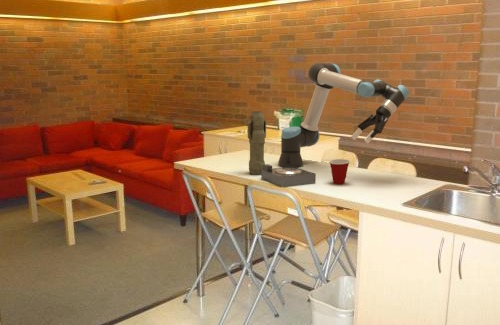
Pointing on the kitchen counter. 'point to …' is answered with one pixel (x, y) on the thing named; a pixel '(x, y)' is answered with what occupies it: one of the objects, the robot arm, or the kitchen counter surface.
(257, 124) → the brown tall upright piece
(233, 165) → the kitchen counter surface
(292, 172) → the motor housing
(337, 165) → the plastic cup
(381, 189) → the kitchen counter surface
